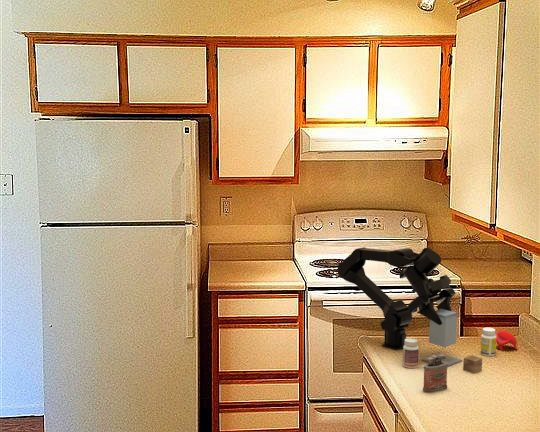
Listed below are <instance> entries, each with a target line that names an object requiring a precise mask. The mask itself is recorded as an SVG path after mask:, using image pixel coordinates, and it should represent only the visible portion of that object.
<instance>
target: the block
mask: <svg viewBox="0 0 540 432" xmlns="http://www.w3.org/2000/svg"><path fill="white" fill-rule="evenodd" d="M462 362H463V364H462V370H463V371H464V372H468V373H471V374H477V373H480V372H481V371H482V370H483V369H482V368H483V358H482V357H479V356H476V355H473V354H470V355H467V356H465V357H463V359H462Z"/></svg>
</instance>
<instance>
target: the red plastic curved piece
mask: <svg viewBox="0 0 540 432" xmlns="http://www.w3.org/2000/svg"><path fill="white" fill-rule="evenodd" d="M495 335H496V345H497V346H498V348H499V349H500V351H501V350H502V351H504V347H503V346H506V345H508V344H511V345H513V348H515V350H516V351H517V350H518V347H517V345H518V343H517V342H518V340H517V339H516V337H515V336H514V334H512V333H510V332H508V331H506V330H499V331H497V332H495Z"/></svg>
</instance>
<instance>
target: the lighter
mask: <svg viewBox="0 0 540 432" xmlns="http://www.w3.org/2000/svg"><path fill="white" fill-rule="evenodd" d="M444 354H445V353H442V355H438V356H435V355H433V354H431V355H432V357H430V358H428V361H427V362H426V363H425V364H423V386H422V392H423V393H426V394H430V393H431V394H432V393H436V392H441V391H445V390H447V389H448V383H447V381H448V380H447V379H448V367H447V366H448V362H445V361H442V360H445V359H446V356H445V355H446V354H445V355H444Z"/></svg>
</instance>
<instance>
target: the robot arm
mask: <svg viewBox="0 0 540 432" xmlns="http://www.w3.org/2000/svg"><path fill="white" fill-rule="evenodd" d="M366 261H371V262H379V263H380V262H381V263H386V264H388V265H390V266H392V267H395V268H400V274H399V279H405V278H406V279H407V281H408V282H409V284H410V285H411V287H412V289H411V292H412V294H413V293H416V295H418V296H416V297H415V298H414V299H413V300H412V301H410V302H409V303H408V304H406V303H405V302H404V301H403V300H402V299H399V300H394V299H392V298H391V297H389V295H387V293H385V292H384V291H383V290H382V289H381V288H380V287H379V286H378V285H377V284H376V283H375V282H374V281H373V280H372V279H370V278H369V277H368V276H367V274H366V272H365V268H364V267H365V265H366ZM441 263H442V258H441V256H440V254H439V253H437V252H436V251H434V250H433V249H431V248H430V247H429V246H428V247H424V248H423V249H422V250H421V252H420V253H417V252H414V250H413V249H412V248H410V247H407V248H399V249H391V250H390V249H380V248H379V249H378V248H368V247H365V246H364V247H359V248H355V249H354V250H353V251H352V252H351V254H349V255H348V256H347V257H346V258H345V259H343V260H342V262H340V263H339V264H338V266H337V274H338V276H339V277H340V278H341V279H343V280H344V281H346V282H348V283H351V284H353V285H355V286H357V288H358V289H359V290H361V292H363V294H365V295H366V296H367V297H368V298H369V299H370V300H371V301H372V302H373V303H374V304H375V305H376V306H377V307H378V308H380V310H381V311H382V314H383V315H382V316H383V318H384V320H382V321H381V322H380V327H381V330H384V337H383V338H384V341H383V342H384V343H381V346H382V347H384V348H389V349H393V350H396V351H397V350H400V349H403V346H404V345H405V339H407V333H406V328H409V326H410V323H411V322H412V320H413V314H414V313H417V314H420V315H422V316H423V317H425V318H427V319H429V321H430V320H432V321H433V322H435V323H437V324H438V325H441V324H442V322H441V320H440V318H439V316H438V314H437V313H436V310H439V309H445V310H448V311H452V308H451V299H452V298H453V297H454V296H455V295H456V293H457V292H456V290H454V288H452V287H451V282H452V280H451V278H450V277H449V276H448V275H447V274H444V275H441V276H439V279H437V280H434V278H428V276H427V275H426V274H428V275H429V274H430V273H432V271H434V269H436V268H437V267H438V266H439V265H441ZM404 267H406V268H404ZM401 268H404V269H401ZM434 304H437V305H436V306H435V305H434ZM435 308H436V309H435ZM452 312H453V311H452Z"/></svg>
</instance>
